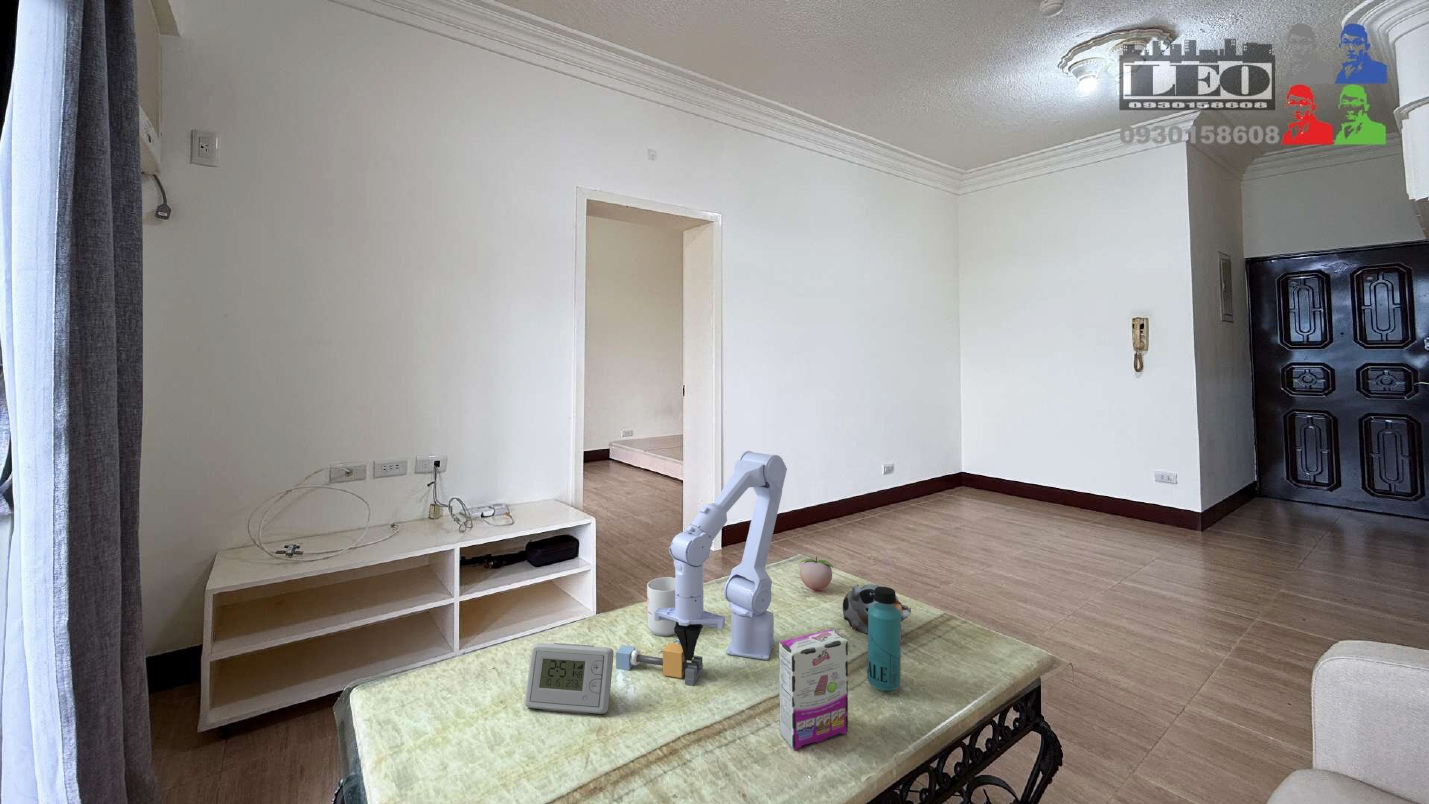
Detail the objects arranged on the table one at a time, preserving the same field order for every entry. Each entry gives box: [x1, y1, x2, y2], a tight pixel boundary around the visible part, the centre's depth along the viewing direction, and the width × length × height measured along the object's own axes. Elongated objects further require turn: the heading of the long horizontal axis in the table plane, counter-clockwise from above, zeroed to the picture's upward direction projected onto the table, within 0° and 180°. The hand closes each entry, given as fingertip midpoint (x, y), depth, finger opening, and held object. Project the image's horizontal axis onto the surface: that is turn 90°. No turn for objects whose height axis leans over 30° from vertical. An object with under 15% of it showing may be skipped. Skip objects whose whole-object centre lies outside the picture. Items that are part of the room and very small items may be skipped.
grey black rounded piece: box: [842, 583, 912, 635], centre depth 130 cm, size 15×12×14 cm
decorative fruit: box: [799, 556, 834, 592], centre depth 152 cm, size 9×8×10 cm
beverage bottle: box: [866, 586, 902, 691], centre depth 104 cm, size 6×7×20 cm
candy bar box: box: [778, 628, 849, 751], centre depth 91 cm, size 11×5×16 cm, turn 114°
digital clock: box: [524, 642, 614, 715], centre depth 100 cm, size 16×9×11 cm, turn 71°
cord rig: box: [615, 644, 704, 686], centre depth 111 cm, size 18×6×3 cm, turn 74°
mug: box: [646, 576, 676, 637], centre depth 131 cm, size 12×9×11 cm
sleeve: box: [662, 642, 688, 679], centre depth 110 cm, size 4×4×5 cm
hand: (689, 658), depth 109 cm, fingers closed
